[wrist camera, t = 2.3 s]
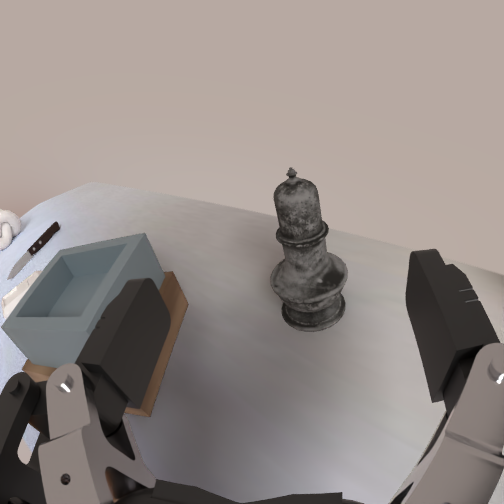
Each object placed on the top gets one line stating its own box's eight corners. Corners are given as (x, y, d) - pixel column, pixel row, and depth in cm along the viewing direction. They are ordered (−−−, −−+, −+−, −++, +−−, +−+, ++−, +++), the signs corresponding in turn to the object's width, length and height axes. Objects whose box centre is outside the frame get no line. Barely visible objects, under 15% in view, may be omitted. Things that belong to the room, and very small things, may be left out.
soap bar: (54, 290, 38) (45, 276, 37) (11, 326, 33) (0, 312, 32) (48, 279, 41) (39, 266, 40) (7, 312, 36) (-2, 299, 35)
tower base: (190, 307, 30) (172, 271, 27) (153, 419, 20) (121, 388, 17) (97, 311, 32) (77, 281, 30) (51, 397, 23) (21, 369, 20)
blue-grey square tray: (165, 276, 27) (145, 232, 24) (122, 376, 18) (85, 331, 16) (80, 285, 29) (59, 250, 26) (32, 364, 20) (0, 327, 18)
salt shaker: (281, 286, 28) (251, 159, 22) (346, 280, 27) (333, 147, 20) (275, 336, 24) (235, 194, 17) (351, 331, 22) (343, 180, 16)
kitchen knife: (58, 229, 58) (54, 221, 57) (61, 228, 58) (57, 220, 57) (8, 283, 44) (3, 275, 43) (11, 283, 44) (5, 274, 42)
